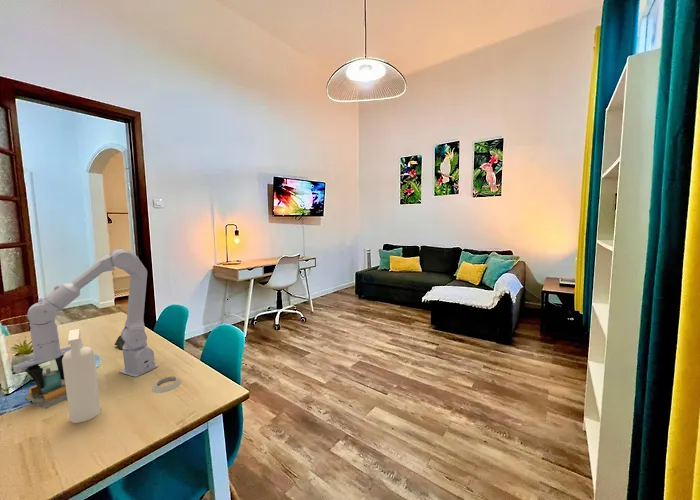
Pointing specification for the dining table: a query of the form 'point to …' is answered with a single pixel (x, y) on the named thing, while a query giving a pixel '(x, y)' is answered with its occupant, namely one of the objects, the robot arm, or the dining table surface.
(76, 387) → the white bottle
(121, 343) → the stone
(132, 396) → the dining table surface
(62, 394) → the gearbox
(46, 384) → the spout can
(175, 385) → the ring
